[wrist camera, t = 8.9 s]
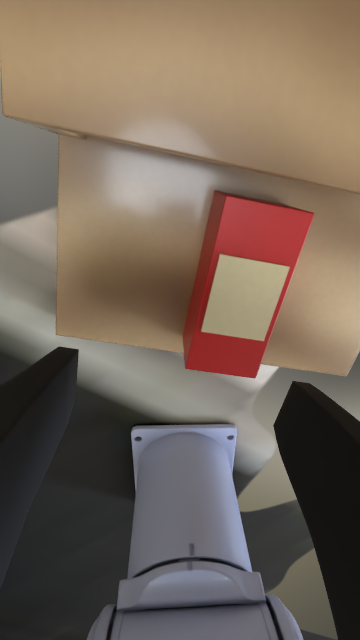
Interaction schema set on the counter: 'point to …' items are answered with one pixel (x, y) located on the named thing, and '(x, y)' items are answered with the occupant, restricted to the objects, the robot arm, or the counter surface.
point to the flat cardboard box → (193, 155)
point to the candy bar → (241, 282)
